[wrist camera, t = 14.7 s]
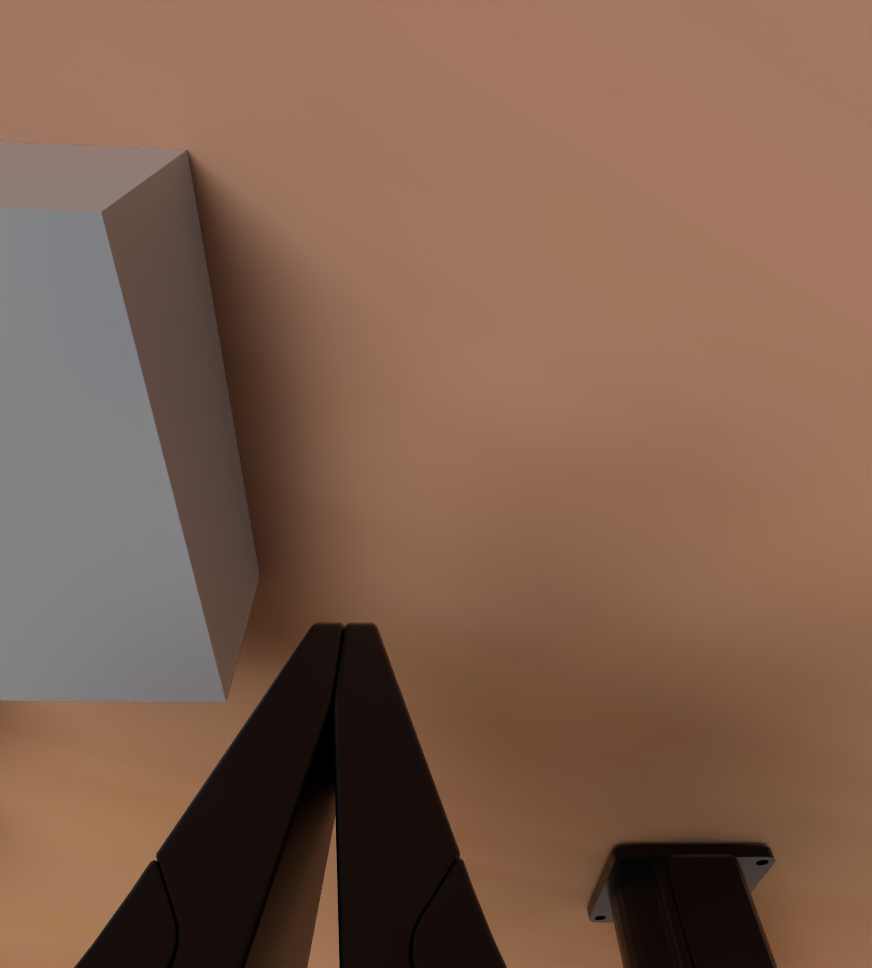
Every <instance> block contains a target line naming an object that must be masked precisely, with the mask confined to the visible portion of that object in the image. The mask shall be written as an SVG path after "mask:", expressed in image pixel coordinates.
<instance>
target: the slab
mask: <svg viewBox="0 0 872 968" xmlns="http://www.w3.org/2000/svg"><path fill="white" fill-rule="evenodd" d="M259 578H260V574H259V569H258V563H257V557H256V551H255V545H254V539H253V533H252V527H251V522H250V516H249V510H248V504H247V498H246V492H245V486H244V480H243V475H242V469H241V463H240V457H239V451H238V445H237V439H236V433H235V428H234V422H233V416H232V410H231V404H230V398H229V392H228V387H227V381H226V375H225V369H224V363H223V357H222V351H221V345H220V340H219V334H218V328H217V322H216V316H215V310H214V304H213V298H212V293H211V287H210V281H209V275H208V269H207V263H206V257H205V251H204V246H203V240H202V234H201V228H200V222H199V216H198V210H197V204H196V199H195V193H194V187H193V181H192V175H191V169H190V163H189V157H188V152H187V150H184V149H159V148H135V147H110V146H86V145H61V144H36V143H12V142H0V700H10V701H134V702H226V701H227V697H228V694H229V690H230V686H231V683H232V679H233V675H234V671H235V668H236V664H237V660H238V657H239V653H240V649H241V645H242V642H243V638H244V634H245V631H246V627H247V623H248V619H249V616H250V612H251V608H252V604H253V601H254V597H255V593H256V590H257V586H258V582H259Z"/></svg>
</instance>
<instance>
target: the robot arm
mask: <svg viewBox="0 0 872 968" xmlns="http://www.w3.org/2000/svg"><path fill="white" fill-rule="evenodd" d="M335 814H336V847H337V885H338V922H339V959H340V968H507V967H506V965H505V962H504V960H503V958H502V956H501V954H500V952H499V950H498V947H497V945H496V943H495V941H494V939H493V936H492V934H491V931H490V929H489V926H488V924H487V921H486V919H485V916H484V914H483V911H482V909H481V906H480V904H479V901H478V899H477V896H476V894H475V891H474V889H473V886H472V883H471V881H470V878H469V875H468V872H467V870H466V867H465V864H464V862H463V860H462V859H460V852H459V849H458V846H457V843H456V841H455V838H454V835H453V832H452V830H451V827H450V824H449V822H448V819H447V816H446V813H445V811H444V808H443V805H442V802H441V800H440V797H439V794H438V792H437V789H436V786H435V783H434V781H433V778H432V775H431V772H430V770H429V767H428V764H427V762H426V759H425V756H424V753H423V751H422V748H421V745H420V742H419V740H418V737H417V734H416V732H415V729H414V726H413V723H412V721H411V718H410V715H409V712H408V710H407V707H406V704H405V702H404V699H403V696H402V693H401V691H400V688H399V685H398V683H397V680H396V677H395V674H394V672H393V669H392V666H391V663H390V661H389V658H388V655H387V653H386V650H385V647H384V644H383V642H382V639H381V636H380V633H379V631H378V628H377V626H376V625H375V624H373V623H348V624H347V625H346V626H344V625H343V624H342V623H323V622H319V623H316V624H314V625H313V626H312V627H311V628H310V629H309V631H308V632H307V634H306V635H305V637H304V638H303V640H302V641H301V643H300V644H299V645H298V647H297V648H296V650H295V651H294V653H293V654H292V656H291V657H290V659H289V660H288V662H287V663H286V665H285V666H284V667H283V669H282V670H281V672H280V673H279V675H278V676H277V678H276V679H275V681H274V682H273V684H272V685H271V687H270V688H269V689H268V691H267V692H266V694H265V695H264V697H263V698H262V700H261V701H260V703H259V704H258V706H257V707H256V709H255V710H254V711H253V713H252V714H251V716H250V717H249V719H248V720H247V722H246V723H245V725H244V726H243V728H242V729H241V731H240V732H239V733H238V735H237V736H236V738H235V739H234V741H233V742H232V744H231V745H230V747H229V748H228V750H227V751H226V753H225V754H224V755H223V757H222V758H221V760H220V761H219V763H218V764H217V766H216V767H215V769H214V770H213V772H212V773H211V775H210V776H209V777H208V779H207V780H206V782H205V783H204V785H203V786H202V788H201V789H200V791H199V792H198V794H197V795H196V797H195V798H194V799H193V801H192V802H191V804H190V805H189V807H188V808H187V810H186V811H185V813H184V814H183V816H182V817H181V819H180V820H179V821H178V823H177V824H176V826H175V827H174V829H173V830H172V832H171V833H170V835H169V836H168V838H167V839H166V841H165V842H164V843H163V845H162V846H161V848H160V849H159V851H158V852H157V854H156V858H157V861H156V860H153V861H151V862H150V863H149V865H148V866H147V868H146V869H145V871H144V872H143V874H142V875H141V877H140V878H139V880H138V881H137V883H136V884H135V886H134V887H133V888H132V890H131V891H130V893H129V894H128V896H127V897H126V898H125V900H124V901H123V903H122V904H121V905H120V907H119V908H118V910H117V911H116V912H115V914H114V915H113V917H112V918H111V919H110V921H109V922H108V924H107V925H106V926H105V928H104V929H103V930H102V932H101V933H100V935H99V936H98V937H97V939H96V940H95V942H94V943H93V944H92V946H91V947H90V948H89V949H88V951H87V952H86V953H85V954H84V956H83V957H82V958H81V960H80V961H79V962H78V963H77V965H76V966H75V967H74V968H307V966H308V960H309V955H310V950H311V944H312V939H313V933H314V928H315V922H316V917H317V912H318V906H319V901H320V895H321V890H322V884H323V879H324V873H325V868H326V863H327V857H328V852H329V846H330V841H331V835H332V830H333V825H334V819H335ZM774 862H775V859H774V856H773V854H772V851H771V849H770V848H768V847H764V846H731V847H621V848H618V849H616V850H614V851H613V852H612V853H611V856H610V858H609V860H608V862H607V865H606V867H605V869H604V872H603V874H602V876H601V878H600V881H599V883H598V885H597V887H596V890H595V892H594V894H593V896H592V899H591V901H590V903H589V906H588V908H587V910H588V915H589V920H590V921H592V922H614V925H615V929H616V934H617V939H618V944H619V949H620V953H621V958H622V963H623V968H777V965H776V962H775V959H774V957H773V954H772V951H771V948H770V945H769V943H768V940H767V937H766V934H765V932H764V929H763V926H762V923H761V921H760V918H759V915H758V912H757V910H756V907H755V904H754V901H753V899H752V896H751V892H752V890H753V889H754V888H755V887H756V885H757V884H758V883H759V882H760V880H761V879H762V878H763V876H764V875H765V874H766V873H767V871H768V870H769V869H770V868H771V866H772V865H773V864H774Z"/></svg>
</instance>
